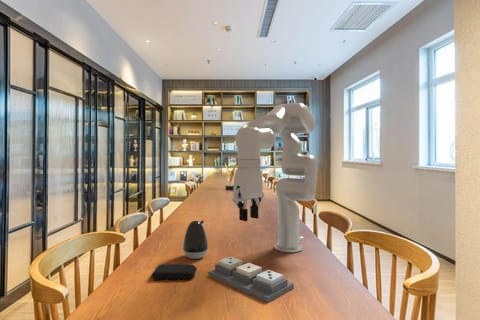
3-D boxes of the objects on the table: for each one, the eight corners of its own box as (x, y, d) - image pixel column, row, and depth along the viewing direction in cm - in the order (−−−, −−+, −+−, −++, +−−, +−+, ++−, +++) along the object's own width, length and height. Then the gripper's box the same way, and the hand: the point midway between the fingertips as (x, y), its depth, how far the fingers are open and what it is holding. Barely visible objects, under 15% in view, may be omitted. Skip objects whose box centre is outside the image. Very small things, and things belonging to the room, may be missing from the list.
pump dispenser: (213, 255, 128) (212, 219, 128) (197, 263, 119) (197, 224, 119) (194, 251, 133) (193, 216, 133) (177, 258, 124) (177, 221, 124)
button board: (234, 265, 116) (234, 256, 116) (293, 288, 98) (293, 277, 97) (208, 275, 107) (208, 266, 107) (267, 302, 88) (267, 290, 88)
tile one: (248, 268, 107) (248, 262, 106) (261, 273, 102) (261, 266, 102) (236, 273, 102) (236, 266, 102) (249, 278, 98) (249, 271, 98)
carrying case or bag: (197, 269, 114) (158, 269, 114) (197, 261, 114) (158, 261, 114) (193, 282, 103) (149, 282, 103) (193, 273, 103) (149, 273, 103)
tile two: (230, 261, 113) (230, 255, 113) (242, 266, 109) (242, 259, 109) (218, 266, 109) (218, 260, 108) (230, 270, 104) (230, 264, 104)
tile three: (268, 275, 100) (268, 269, 100) (283, 281, 96) (283, 274, 96) (256, 281, 96) (256, 274, 96) (271, 287, 92) (271, 280, 92)
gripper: (257, 163, 110) (257, 213, 110) (222, 165, 98) (222, 221, 98) (273, 164, 104) (273, 217, 105) (239, 166, 92) (239, 225, 93)
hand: (248, 218), depth 102 cm, fingers open, 4 cm apart
